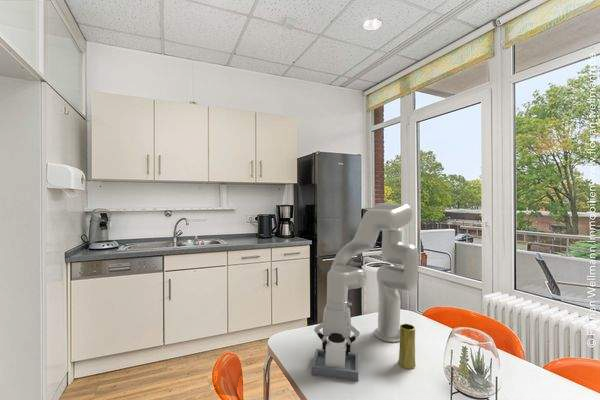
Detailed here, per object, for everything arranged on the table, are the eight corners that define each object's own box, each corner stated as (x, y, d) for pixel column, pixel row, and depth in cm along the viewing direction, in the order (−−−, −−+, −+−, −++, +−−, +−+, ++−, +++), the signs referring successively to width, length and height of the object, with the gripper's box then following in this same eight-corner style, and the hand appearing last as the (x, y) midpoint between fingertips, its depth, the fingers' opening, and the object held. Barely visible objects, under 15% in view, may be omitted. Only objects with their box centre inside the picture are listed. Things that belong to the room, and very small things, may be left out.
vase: (407, 371, 104) (408, 331, 104) (394, 362, 110) (395, 324, 109) (419, 366, 107) (420, 328, 107) (406, 358, 112) (406, 321, 112)
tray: (357, 361, 110) (357, 353, 109) (358, 381, 98) (358, 372, 98) (315, 356, 112) (316, 348, 112) (311, 375, 101) (311, 366, 101)
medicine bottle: (345, 369, 101) (346, 335, 101) (325, 366, 102) (325, 333, 102) (346, 358, 108) (347, 326, 108) (327, 356, 109) (327, 324, 109)
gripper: (361, 302, 107) (360, 349, 107) (314, 298, 110) (313, 344, 110) (361, 310, 100) (360, 361, 100) (311, 306, 103) (311, 355, 103)
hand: (336, 352), depth 105 cm, fingers open, 7 cm apart
